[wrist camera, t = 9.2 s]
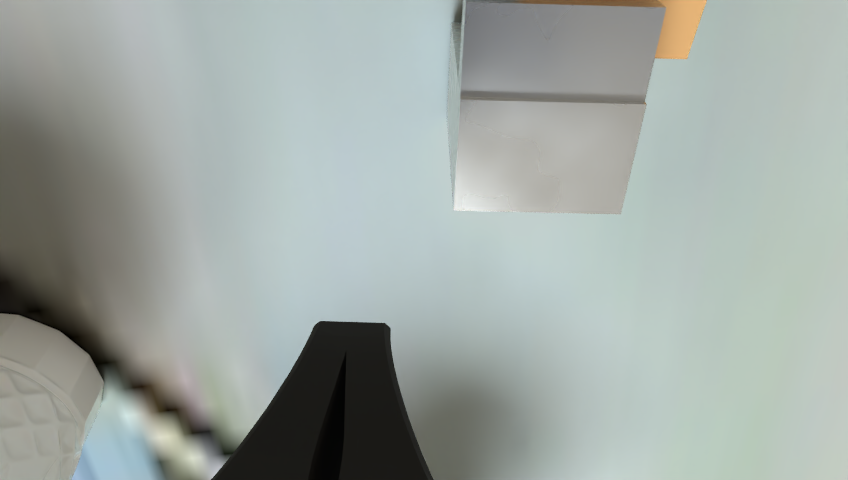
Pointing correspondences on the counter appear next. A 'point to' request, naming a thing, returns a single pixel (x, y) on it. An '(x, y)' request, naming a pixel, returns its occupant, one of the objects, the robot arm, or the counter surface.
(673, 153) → the counter surface
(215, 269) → the counter surface
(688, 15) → the orange rectangular bar
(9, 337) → the white cup
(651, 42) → the block
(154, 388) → the counter surface
